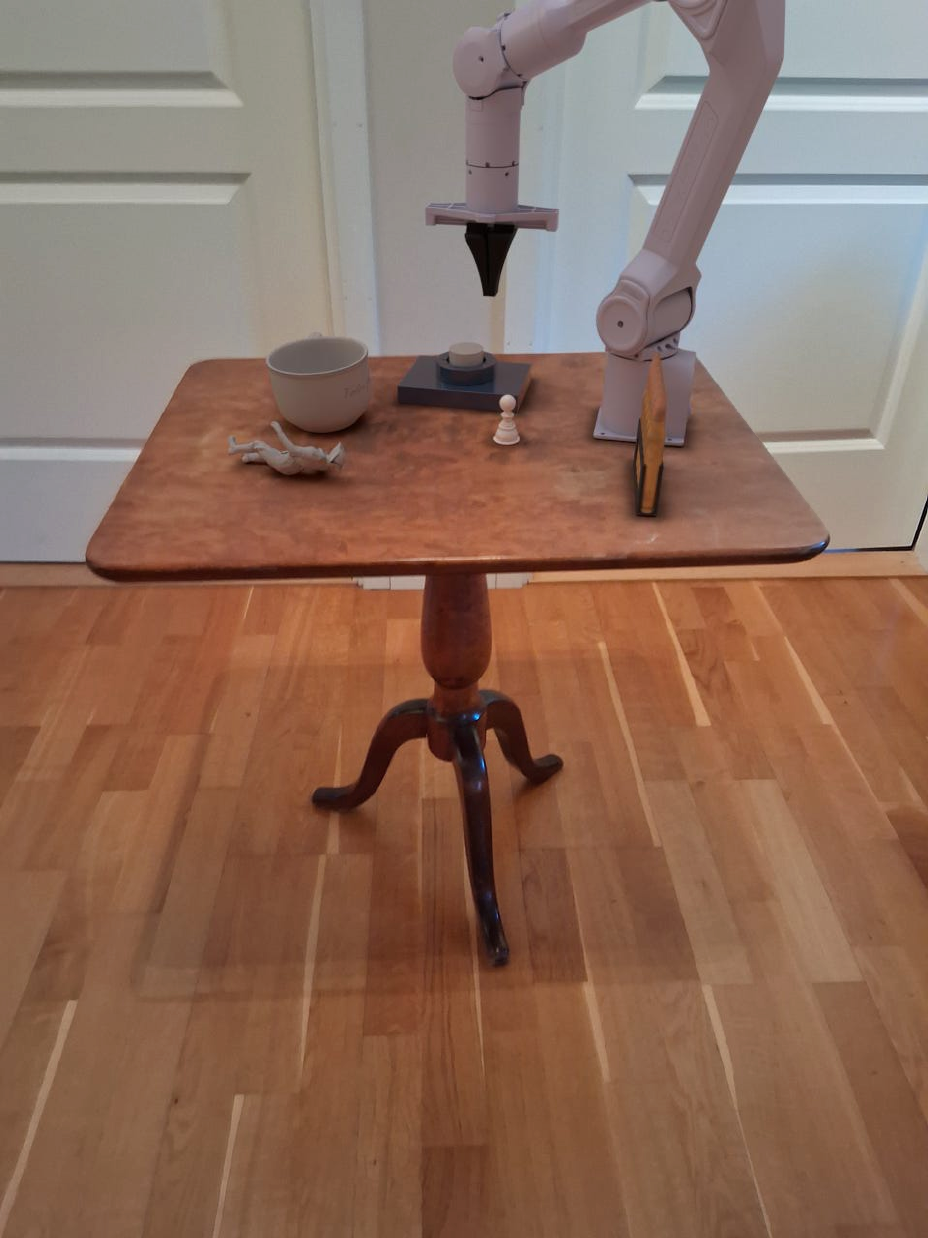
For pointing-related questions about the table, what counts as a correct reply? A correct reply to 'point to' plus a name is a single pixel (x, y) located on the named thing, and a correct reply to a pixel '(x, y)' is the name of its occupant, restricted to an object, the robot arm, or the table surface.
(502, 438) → the chess pawn
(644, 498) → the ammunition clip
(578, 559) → the table surface
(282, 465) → the soldier figure
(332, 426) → the teacup
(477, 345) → the pale grey cylinder
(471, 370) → the dark ring socket base
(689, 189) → the robot arm
